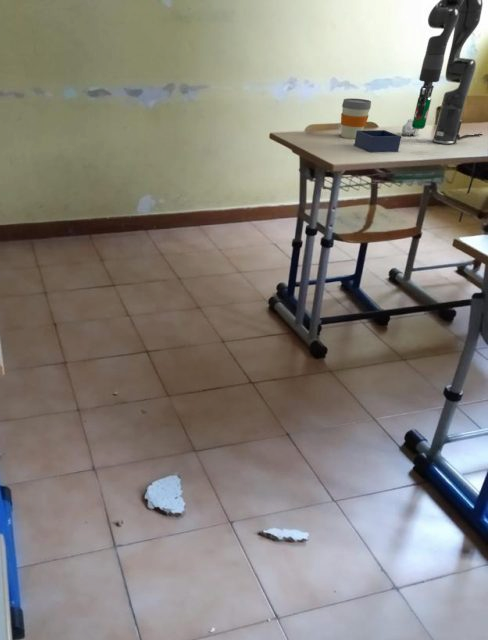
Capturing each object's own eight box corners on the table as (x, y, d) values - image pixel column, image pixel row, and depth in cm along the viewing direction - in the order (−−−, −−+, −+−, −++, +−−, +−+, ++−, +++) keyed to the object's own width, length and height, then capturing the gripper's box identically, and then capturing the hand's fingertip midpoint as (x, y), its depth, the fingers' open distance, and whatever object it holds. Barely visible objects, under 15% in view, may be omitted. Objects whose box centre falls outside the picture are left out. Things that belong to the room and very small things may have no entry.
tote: (381, 144, 265) (384, 130, 262) (398, 151, 254) (401, 136, 251) (354, 145, 262) (356, 130, 258) (369, 152, 251) (372, 137, 248)
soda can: (425, 129, 246) (432, 96, 239) (412, 128, 247) (419, 96, 240) (423, 127, 250) (431, 95, 243) (410, 126, 251) (418, 94, 244)
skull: (395, 128, 283) (409, 108, 283) (400, 142, 289) (414, 122, 290) (410, 130, 278) (424, 109, 278) (415, 144, 284) (429, 123, 285)
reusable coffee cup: (340, 139, 272) (346, 102, 263) (334, 133, 282) (340, 97, 274) (368, 139, 272) (375, 103, 264) (360, 134, 283) (367, 98, 274)
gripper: (438, 69, 229) (426, 118, 239) (445, 67, 240) (433, 113, 249) (418, 68, 232) (407, 116, 242) (425, 65, 243) (415, 111, 252)
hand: (421, 114), depth 246 cm, fingers closed on soda can, 5 cm apart
